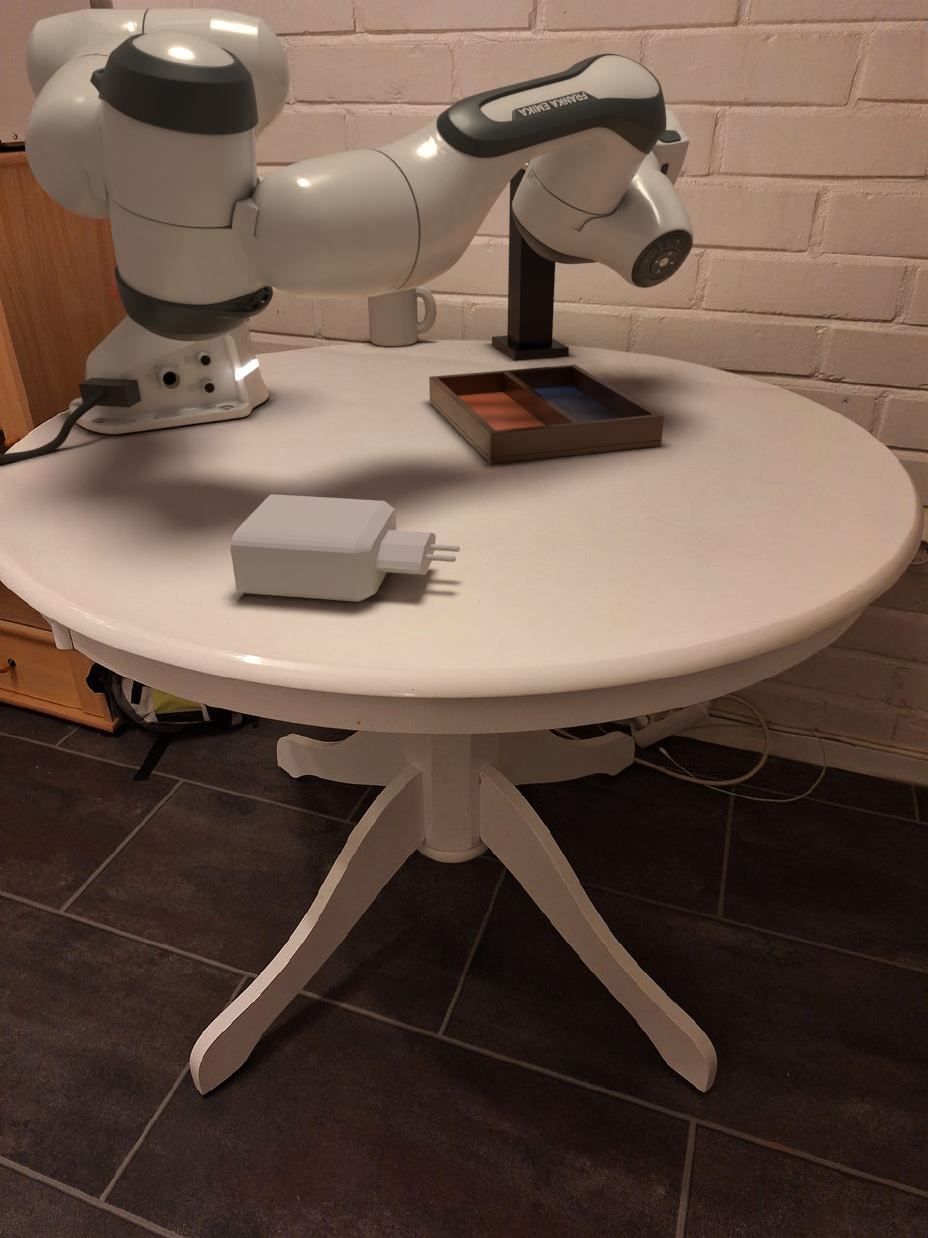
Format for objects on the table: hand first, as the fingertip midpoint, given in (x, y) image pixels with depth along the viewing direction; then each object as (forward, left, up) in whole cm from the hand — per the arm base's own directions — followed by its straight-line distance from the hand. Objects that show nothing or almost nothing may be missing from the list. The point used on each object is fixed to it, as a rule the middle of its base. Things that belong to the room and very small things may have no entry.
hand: (571, 96), depth 106 cm
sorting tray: (-18, -16, -31) cm, 40 cm away
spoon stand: (+4, +11, -31) cm, 33 cm away
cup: (-7, +27, -32) cm, 42 cm away
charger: (-54, -37, -32) cm, 73 cm away
